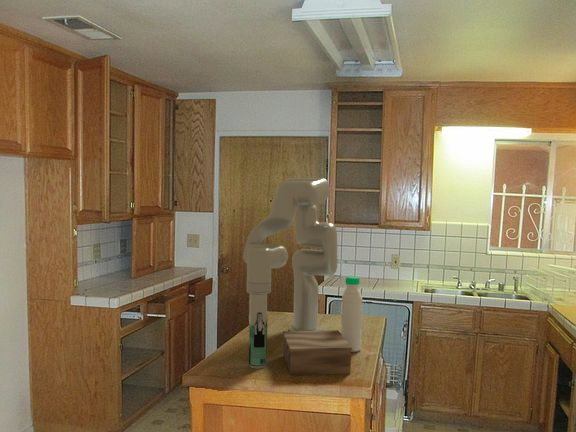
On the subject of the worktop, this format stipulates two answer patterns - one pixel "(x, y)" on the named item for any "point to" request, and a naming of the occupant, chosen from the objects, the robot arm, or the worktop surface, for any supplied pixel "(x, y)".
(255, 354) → the spray can
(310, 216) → the robot arm
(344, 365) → the brown wooden block
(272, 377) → the worktop surface
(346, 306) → the water bottle
